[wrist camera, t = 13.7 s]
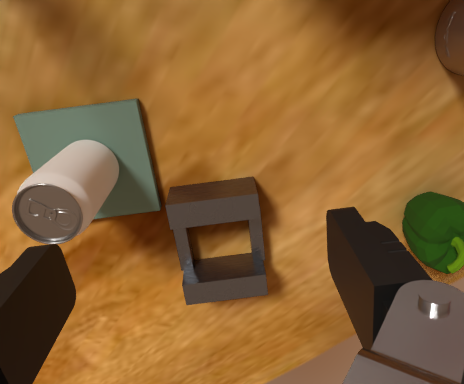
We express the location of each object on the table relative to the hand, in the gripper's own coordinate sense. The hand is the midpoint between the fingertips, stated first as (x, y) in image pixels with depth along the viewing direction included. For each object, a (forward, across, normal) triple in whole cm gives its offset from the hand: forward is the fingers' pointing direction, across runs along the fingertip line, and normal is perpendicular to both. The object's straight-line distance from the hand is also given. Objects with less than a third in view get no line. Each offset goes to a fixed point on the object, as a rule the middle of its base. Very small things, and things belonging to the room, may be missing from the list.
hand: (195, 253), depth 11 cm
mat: (+31, +15, +6) cm, 35 cm away
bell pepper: (+33, -24, +18) cm, 45 cm away
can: (+30, +15, +6) cm, 34 cm away
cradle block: (+32, +2, +17) cm, 36 cm away
